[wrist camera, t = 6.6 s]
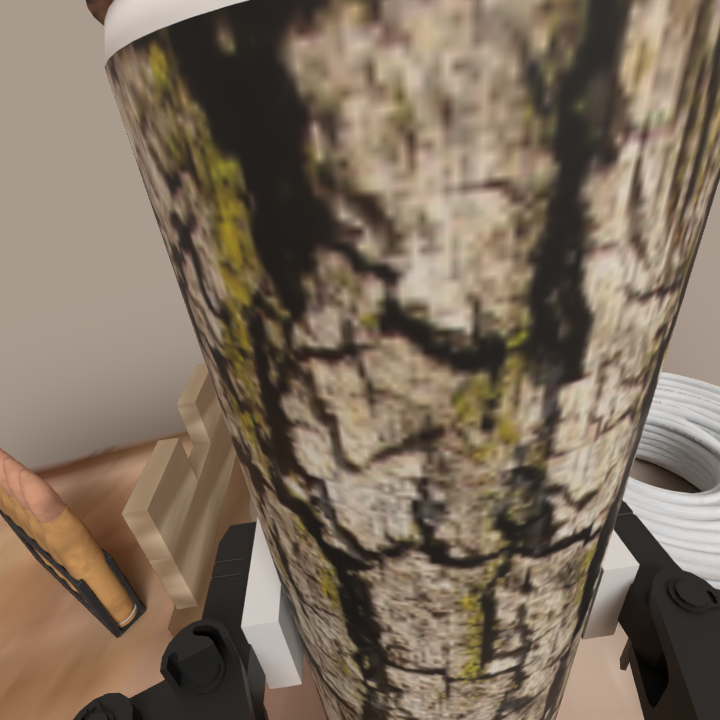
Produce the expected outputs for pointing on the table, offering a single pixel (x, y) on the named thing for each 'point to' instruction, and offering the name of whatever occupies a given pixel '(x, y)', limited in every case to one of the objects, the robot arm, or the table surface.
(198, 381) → the base
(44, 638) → the table surface
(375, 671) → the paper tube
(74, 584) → the ammunition clip
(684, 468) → the cable
